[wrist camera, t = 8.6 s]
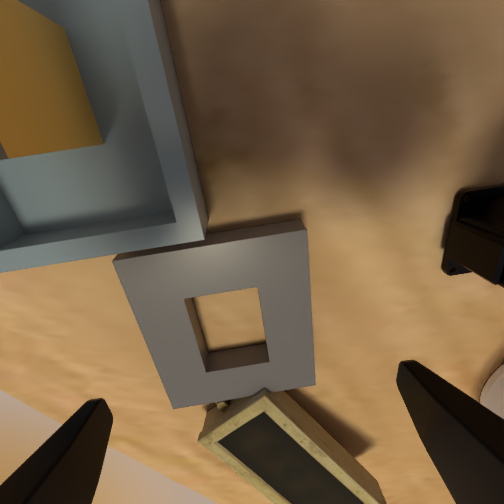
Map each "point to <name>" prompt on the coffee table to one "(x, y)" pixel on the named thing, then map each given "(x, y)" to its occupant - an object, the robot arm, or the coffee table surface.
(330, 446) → the box
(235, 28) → the coffee table surface
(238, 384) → the socket block
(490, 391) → the decorative vase
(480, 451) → the robot arm
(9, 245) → the parts tray
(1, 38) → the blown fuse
